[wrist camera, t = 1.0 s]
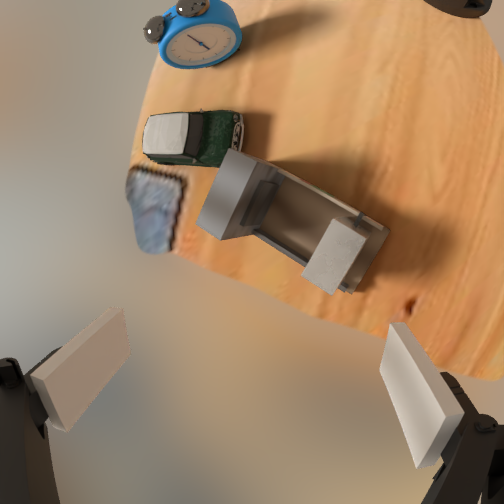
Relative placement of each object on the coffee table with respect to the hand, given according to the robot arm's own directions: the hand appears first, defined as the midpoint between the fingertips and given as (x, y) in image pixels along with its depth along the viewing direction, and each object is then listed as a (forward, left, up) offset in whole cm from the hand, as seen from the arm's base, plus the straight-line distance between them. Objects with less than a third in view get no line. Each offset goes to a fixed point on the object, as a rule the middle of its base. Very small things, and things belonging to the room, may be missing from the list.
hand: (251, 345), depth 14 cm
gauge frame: (-1, -7, -30) cm, 31 cm away
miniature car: (-4, -30, -30) cm, 43 cm away
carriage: (-2, -1, -28) cm, 28 cm away
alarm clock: (-21, -35, -30) cm, 51 cm away
